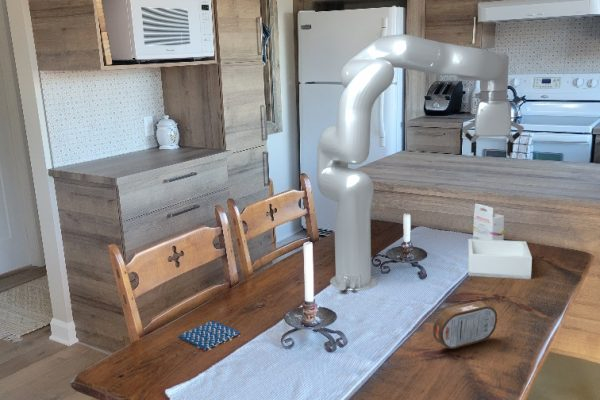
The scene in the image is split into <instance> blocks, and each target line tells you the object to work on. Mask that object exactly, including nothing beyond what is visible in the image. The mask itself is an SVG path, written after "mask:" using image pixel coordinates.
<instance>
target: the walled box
mask: <svg viewBox="0 0 600 400" xmlns="http://www.w3.org/2000/svg"><path fill="white" fill-rule="evenodd" d="M467 240H468V241H467V270H468V271H467V272H468V273H467V274H468V277H482V278H483V277H484V278H485V277H487V278H498V279H499V278H502V279H519V280H520V279H521V280H531V279H532V267H533V266H532V264H533V262H532V261H533V257H532V254H531V251H530V249H529V246H528V243H527V241H525V240H523V241H522V240H505V239H503V240H480V239H473V238H468V239H467Z"/></svg>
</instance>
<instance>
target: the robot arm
mask: <svg viewBox="0 0 600 400" xmlns="http://www.w3.org/2000/svg"><path fill="white" fill-rule="evenodd" d="M509 63H510V61H509V56H508V54H506V53H502V52H499V53H498V52H494V51H490V50H488V49H484V48H479V47H473V46H464V45H457V44H453V43H445V42H440V41H436V40H433V39H432V40H431V39H427V38H424V37H423V38H422V37H420V36H415V35H411V34H403V33H402V34H392V35H390V34H389V35H384V36H382V37H381V36H380V37H379V38H377V39H376V40H374V41H373V42H371V43H370V44H369V45H367V46H366V47H365V48H364V49H362V50H361V51H360V52H359V53H357V54H356V55H354V57H352V58H350V59H349V60H348V61H347V62H346V63H345V64H344V66H343V68H342V69H341V72H340V82H341V85H342V86H343V87H344V90H343V92H342V94H341V96H340V99H339V102H338V107H337V118H336V124H335V125H334V124H333V125H331V126H328V127H327V128H325V129H324V130H323V132H322V133H321V135H320V137H319V139H318V143H317V155H316V156H317V158H316V159H317V160H316V163H317V167H316V170H317V171H316V172H317V173H316V175H317V178H316V179H317V186H318V189H319V192H320V194H321V195H322V196H323V197H324V198H326V199H328V200H330V201H333V202H337V203H338V206H337V209H336V213H335V216H334V250H335V251H334V256H335V257H334V258H335V259H334V261H335V262H334V263H335V275H334V276H332V278H331V279H329V282H330V284H331V285H332V286H333V287H334V288H337V289H339V290H340V291H351V292H359V291H367V290H370V289H373V288H374V287H376V286H377V284H378V280H377V278H375V276H373V275H372V246H371V245H372V238H371V237H372V235H371V234H372V231H371V227H372V225H371V221H372V220H371V218H372V217H371V215H372V214H371V213H372V205H373V200H374V196H375V195H374V194H375V186H374V182H373V181H372V178H371V177H370V176H369V175H368V174H367V173H365V172H363V171H361V170H358V169H355V168H350V167H349V165H359V164H362V163H364V162H365V161H366V160H367V159H368V157H369V154H370V149H371V123H372V121H371V119H372V110H373V107H374V105H375V103H376V101H377V99H378V98H379V97H380V96H381V94H383V93H384V92H385V91H386V90H387V89H388V88H390V86H391V84H392V83H393V82H394V78H395V68H397V69H398V68H399V69H406V70H410V71H415V72H420V73H424V74H425V73H426V74H428V75H430V74H431V75H438V76H456V77H457V78H459V79H460V80H463V81H469V82H472V81H473V82H474V81H480V92H477V93H474V98H475V99H479V101H477V104H476V107H475V108H476V109H475V113H474V115H475V116H474V121H471V122H470V123H468V124H467V125H464V126H463V127H461V130H462V132H463V135H464V136H465V137H466V139H468V140H469V142H471V144H470V146H471V147H470V153H472V154H473V156H474V157H476V156H477V141H476V140H477V139H479V137H488V138H489V137H506V138H507V140H508V141H507V145H506V146H507V147H506V155H507V156H508V157H510V156H511V154H513V151H514V150H513V149H514V142H515V141H516V140H517V139H518V138H519V137H520V136H521V134H522V133H523V132H524V129H525V127H524V126H523V125H521V124H519V123H516V122H514V121H512V108H511V102H510V101H509V100H508V87H509V85H508V84H509V83H508V82H509ZM512 127H513V128H515V129H516V131H515V133H514V134H513V135H511V132H512ZM472 128H474V134H473V135H471V134H470V133H469V131H468V130H469V129H472Z"/></svg>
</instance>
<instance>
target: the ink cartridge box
mask: <svg viewBox="0 0 600 400" xmlns="http://www.w3.org/2000/svg"><path fill="white" fill-rule="evenodd" d="M482 209H484V210H482ZM472 228H473V229H472V230H473V231H472V233H473V234H472V239H480V240H504V232H505V231H504V230H505V215H502V214H499V213H494V207H491V206H487V205H484V204H480V203H475V204H474V212H473V227H472Z"/></svg>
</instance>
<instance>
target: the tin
mask: <svg viewBox="0 0 600 400" xmlns="http://www.w3.org/2000/svg"><path fill="white" fill-rule="evenodd" d="M497 323H498V313H497V311H496V309H495V308H494V307H492V306H491V305H489V304H488V303H487V302H485V301H482V300H478V301H473V302H468V303H465V304H461V305H455V306H452V307H447V308H446V309H444V310H443V311H441V312H440V313H439V315H438V316H437V317H436V319H435V321H434V323H433V327H432V334H433V335H432V336H433V338H434V340H435V341H436V342H437V343H438V344H439V345H441V346H443V347H445V348H447V349H452V350H453V349H458V348H462V347H466V346H468V345H472V344H478V343H479V342H480V343H482V342H484V341H486V340H488V339H489V338H490V337H491V336H492V335H493V333H494V331H495V330H496V328H497Z"/></svg>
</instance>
